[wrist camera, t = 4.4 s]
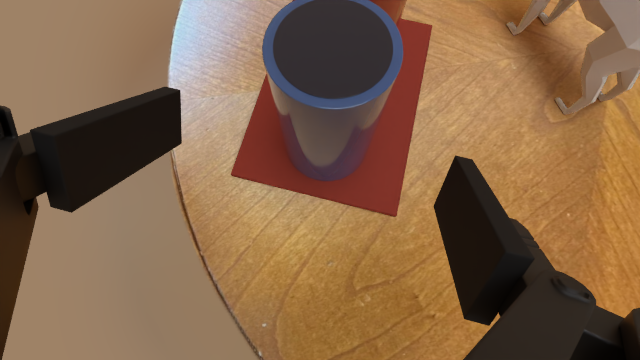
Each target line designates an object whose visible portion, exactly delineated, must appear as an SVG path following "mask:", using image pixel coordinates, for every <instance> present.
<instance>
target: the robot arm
mask: <svg viewBox="0 0 640 360" xmlns="http://www.w3.org/2000/svg"><path fill="white" fill-rule="evenodd" d="M181 143H182V138H181V101H180V90H177V89H173V88H169V87H163V88H160V89H156V90H153V91H150V92H147V93H144V94H141V95H138V96H135V97H131V98H128V99H125V100H122V101H119V102H116V103H113V104H109V105H106V106H103V107H100V108H97V109H94V110H91V111H88V112H84V113H81V114H79V115H75V116H72V117H69V118H66V119H63V120H59V121H57V122H53V123H50V124H47V125H44V126H41V127H37V128H34V129H31V130H30V132H29V133H26V134H23V135H20V136H18V134H17V131H16V128H15V124H14V120H13V117H12V114H11V110H10V109H9V108H7V107H5V106H0V360H2V356H3V352H4V348H5V343H6V339H7V335H8V331H9V327H10V323H11V319H12V314H13V310H14V306H15V302H16V298H17V294H18V290H19V286H20V282H21V277H22V273H23V269H24V265H25V261H26V257H27V253H28V249H29V244H30V240H31V236H32V232H33V228H34V224H35V219H36V215H37V211H38V203H37V199H36V197H37V196H39V195H40V194H43V193H45V192H47V195H48V199H49V202H50V206H51V207H53V208H57V209H60V210H64V211H68V212H73V211H75V210H76V209H78V208H79V207H81V206H83V205H84V204H86V203H87V202H89V201H91V200H92V199H94V198H95V197H97V196H99V195H100V194H102V193H103V192H105V191H107V190H108V189H110V188H111V187H113V186H115V185H116V184H118V183H119V182H121V181H123V180H124V179H126V178H127V177H129V176H130V175H132V174H134V173H135V172H137V171H138V170H140V169H142V168H143V167H145V166H146V165H148V164H149V163H151V162H153V161H154V160H156V159H158V158H159V157H161V156H162V155H164V154H165V153H167V152H169V151H170V150H172V149H173V148H175V147H177V146H178V145H180V144H181ZM434 209H435V213H436V217H437V221H438V224H439V228H440V232H441V235H442V239H443V243H444V246H445V250H446V254H447V257H448V261H449V265H450V268H451V272H452V276H453V279H454V283H455V287H456V291H457V294H458V298H459V302H460V305H461V309H462V313H463V316H464V319H466V320H470V321H474V322H477V323H481V324H485V325H488V326H489V325H490V324H491V322H492V321H493V320H494V318H495V317H496V315H497V314H498V312H499V314H500V318H499V320H498V321H497V322H496V323H495V324H494V325H493V326H492V327H491V329H490V330H489V331H488V332H487V333H486V334H485V335H484V337H483V338H482V339H481V340H480V341H479V342H478V343H477V345H476V346H475V347H474V348H473V349H472V350H471V351H470V353H469V354H468V355H467V356H466V357H465V358H464V359H463V360H640V308H637V309H633V310H632V311H631V312H630V313H629V314H628V315H627V316H626V317H625V318H623V317H620V316H618V315H616V314H614V313H612V312H609V311H607V310H605V309H603V308H600V307H598V306H596V299H595V298H594V296H593V294H592V293H591V292H590V291H589V290H588V289H587V288H586V287H585V286H584V285H583V284H581V283H580V282H578V281H577V280H575V279H574V278H572V277H570V276H568V275H566V274H564V273H562V272H559V271H556V270H555V269H554V268H553V266H552V265H551V263H550V262H549V260H548V259H547V257H546V256H545V254H544V253H543V251H542V250H541V249H539V246H538V244H537V243H536V241H534V238H533V237H532V235H531V234H530V232H529V231H528V230H527V229H526V228H525V227H524V226H523V225H522V224H520V223H519V222H518V221H517V220H515V219H511V218H509V217H508V215H507V214H506V212H505V210H504V209H503V207H502V206H501V204H500V203H499V201H498V199H497V198H496V196H495V195H494V193H493V192H492V190H491V188H490V187H489V185H488V184H487V182H486V180H485V179H484V177H483V176H482V174H481V173H480V171H479V169H478V168H477V166H476V165H475V163H474V161H473V160H472V159H468V158H463V157H459V156H455V157H454V160H453V162H452V164H451V167H450V169H449V171H448V174H447V176H446V178H445V181H444V183H443V185H442V188H441V190H440V192H439V195H438V197H437V199H436V202H435V204H434Z"/></svg>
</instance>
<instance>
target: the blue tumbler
mask: <svg viewBox="0 0 640 360" xmlns="http://www.w3.org/2000/svg"><path fill="white" fill-rule="evenodd" d="M262 51H263V60H264V65H265V69H266V73H267V77H268V81H269V85H270V89H271V93H272V97H273V101H274V105H275V109H276V113H277V117H278V121H279V125H280V129H281V133H282V137H283V141H284V145H285V149H286V152H287V155H288V158H289V160H290V161H291V163H292V164H293V166H294V167H295V168H296V169H297V170H298V171H299V172H301V173H302V174H304V175H305V176H307V177H309V178H312V179H315V180H320V181H334V180H339V179H342V178H344V177H346V176H349V175H350V174H352V173H353V172H354V171H355V170H357V169H358V167H359V166H360V165H361V164H362V162H363V161H364V158H365V156H366V154H367V151H368V149H369V146H370V144H371V141H372V139H373V136H374V134H375V131H376V129H377V126H378V124H379V121H380V119H381V116H382V114H383V111H384V109H385V106H386V104H387V101H388V99H389V96H390V94H391V91H392V89H393V86H394V84H395V81H396V79H397V76H398V74H399V71H400V69H401V65H402V61H403V43H402V38H401V35H400V32H399V30H398V28H397V26H396V24H395V23H394V21H393V20H392V19H391V17H390V16H389V15H388V14H387V13H386V12H385V11H384V10H383V9H382V8H380V7H379V6H378V5H376V4H375V3H373V2H371V1H369V0H294V1H292V2H291V3H289V4H288V5H286V6H285V7H284V8H283V9H281V10H280V11H279V12H278V13H277V14H276V16H275V17H274V18H273V19H272V21H271V22H270V24H269V26H268V28H267V30H266V32H265V36H264V39H263V46H262Z"/></svg>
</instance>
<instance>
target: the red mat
mask: <svg viewBox="0 0 640 360" xmlns="http://www.w3.org/2000/svg"><path fill="white" fill-rule="evenodd" d="M293 1H294V0H293ZM431 29H432V25H428V24H423V23H418V22H414V21H409V20H404V19H400V22H399V26H398V30H399V32H400V35H401V38H402V43H403V61H402V65H401V69H400V71H399V74H398V76H397V79H396V81H395V84H394V86H393V89H392V91H391V94H390V96H389V99H388V101H387V104H386V106H385V109H384V111H383V114H382V116H381V119H380V121H379V124H378V126H377V129H376V131H375V134H374V136H373V139H372V141H371V144H370V146H369V149H368V151H367V154H366V156H365V158H364V161H363V162H362V164H361V165H360V166H359V167H358V169H357V170H355V171H354V172H353V173H352V174H350V175H349V176H346V177H344V178H342V179H339V180H334V181H320V180H315V179H312V178H309V177H307V176H305V175H304V174H302V173H301V172H299V171H298V170H297V169H296V168H295V167H294V166H293V164H292V163H291V161H290V160H289V158H288V155H287V152H286V149H285V145H284V141H283V137H282V133H281V129H280V125H279V121H278V117H277V113H276V109H275V105H274V101H273V97H272V93H271V89H270V85H269V81H268V77H267V74H266V77H265V80H264V82H263V85H262V88H261V91H260V94H259V97H258V99H257V102H256V105H255V108H254V111H253V113H252V116H251V119H250V122H249V125H248V127H247V130H246V133H245V136H244V139H243V142H242V144H241V147H240V150H239V153H238V156H237V158H236V161H235V164H234V167H233V170H232V172H231V175H232V176H235V177H239V178H243V179H247V180H251V181H255V182H259V183H263V184H267V185H271V186H275V187H279V188H283V189H287V190H291V191H295V192H299V193H303V194H307V195H311V196H315V197H319V198H323V199H327V200H331V201H335V202H339V203H343V204H347V205H351V206H355V207H359V208H363V209H367V210H371V211H375V212H379V213H383V214H387V215H391V216H396V215H397V210H398V205H399V200H400V194H401V189H402V184H403V178H404V173H405V168H406V162H407V157H408V152H409V146H410V141H411V136H412V131H413V125H414V120H415V115H416V109H417V104H418V99H419V93H420V88H421V83H422V77H423V72H424V67H425V61H426V56H427V51H428V45H429V40H430V35H431Z"/></svg>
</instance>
